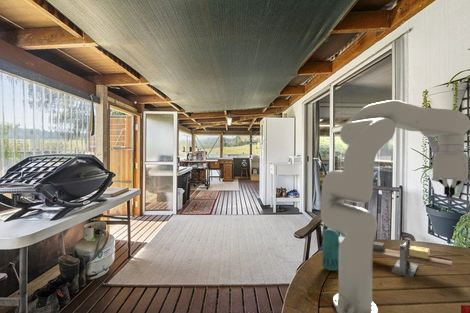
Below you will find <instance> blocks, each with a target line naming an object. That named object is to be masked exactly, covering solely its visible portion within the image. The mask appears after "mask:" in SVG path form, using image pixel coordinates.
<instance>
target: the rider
mask: <svg viewBox="0 0 470 313" xmlns="http://www.w3.org/2000/svg"><path fill="white" fill-rule="evenodd" d="M430 255H431V252H430V248H428V247H423V246H417V245H411V246H410V248H409V257H414V258H419V259H425V260H429V259H430Z"/></svg>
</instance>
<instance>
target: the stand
mask: <svg viewBox="0 0 470 313" xmlns="http://www.w3.org/2000/svg"><path fill="white" fill-rule="evenodd" d="M411 240H412V238H409V237H405V238H404V243H403V244H400V245H399V251H400V260H396V263H395V264H394V266H393V267H392V268H391V273H394V274H396V275H400V276H403V277H407V278H410V279H414V276H415V274H416V273H417V269H418V268H419V264H418V263H413V262H408V261H406V245H407V244H410V246H412V244H411V243H412V242H411Z"/></svg>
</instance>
